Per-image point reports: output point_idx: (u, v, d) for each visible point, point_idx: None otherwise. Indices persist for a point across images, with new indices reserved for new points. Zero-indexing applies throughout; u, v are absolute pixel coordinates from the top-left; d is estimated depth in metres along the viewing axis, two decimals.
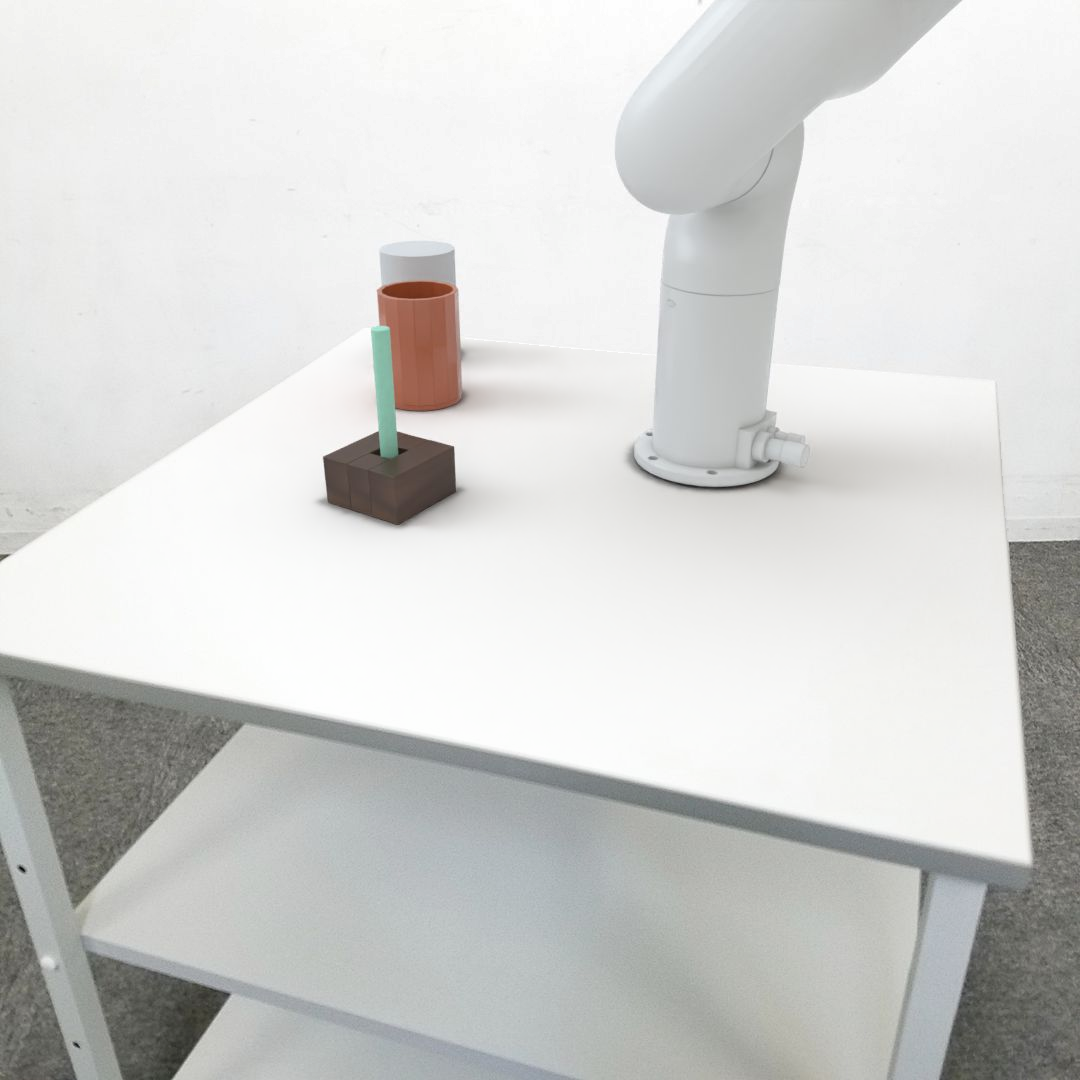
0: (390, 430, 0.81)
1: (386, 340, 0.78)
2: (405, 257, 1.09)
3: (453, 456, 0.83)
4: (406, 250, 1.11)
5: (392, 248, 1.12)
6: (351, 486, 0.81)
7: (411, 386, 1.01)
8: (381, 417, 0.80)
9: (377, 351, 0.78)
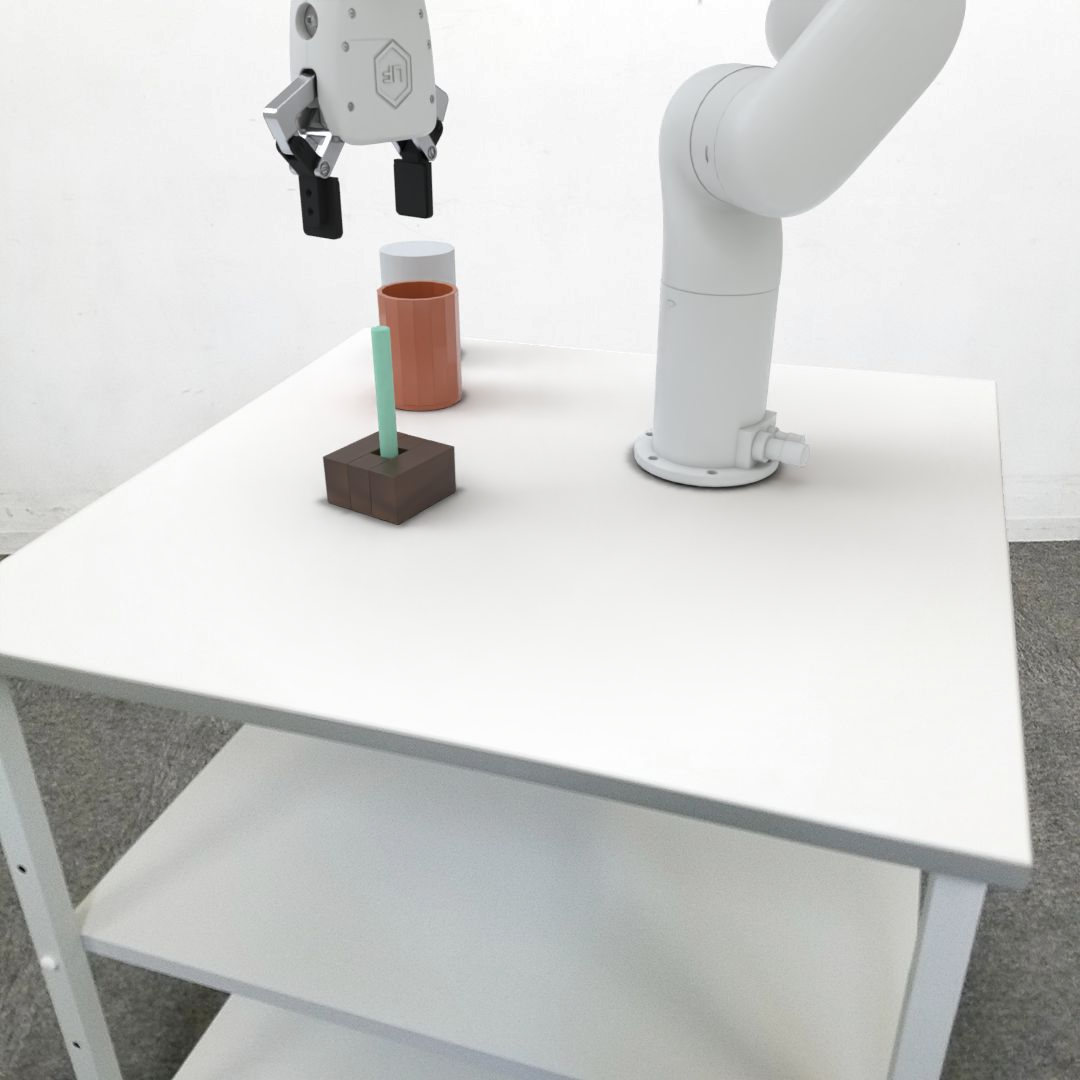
0: (390, 430, 0.81)
1: (386, 340, 0.78)
2: (405, 257, 1.09)
3: (453, 456, 0.83)
4: (406, 250, 1.11)
5: (392, 248, 1.12)
6: (351, 486, 0.81)
7: (411, 386, 1.01)
8: (381, 417, 0.80)
9: (377, 351, 0.78)
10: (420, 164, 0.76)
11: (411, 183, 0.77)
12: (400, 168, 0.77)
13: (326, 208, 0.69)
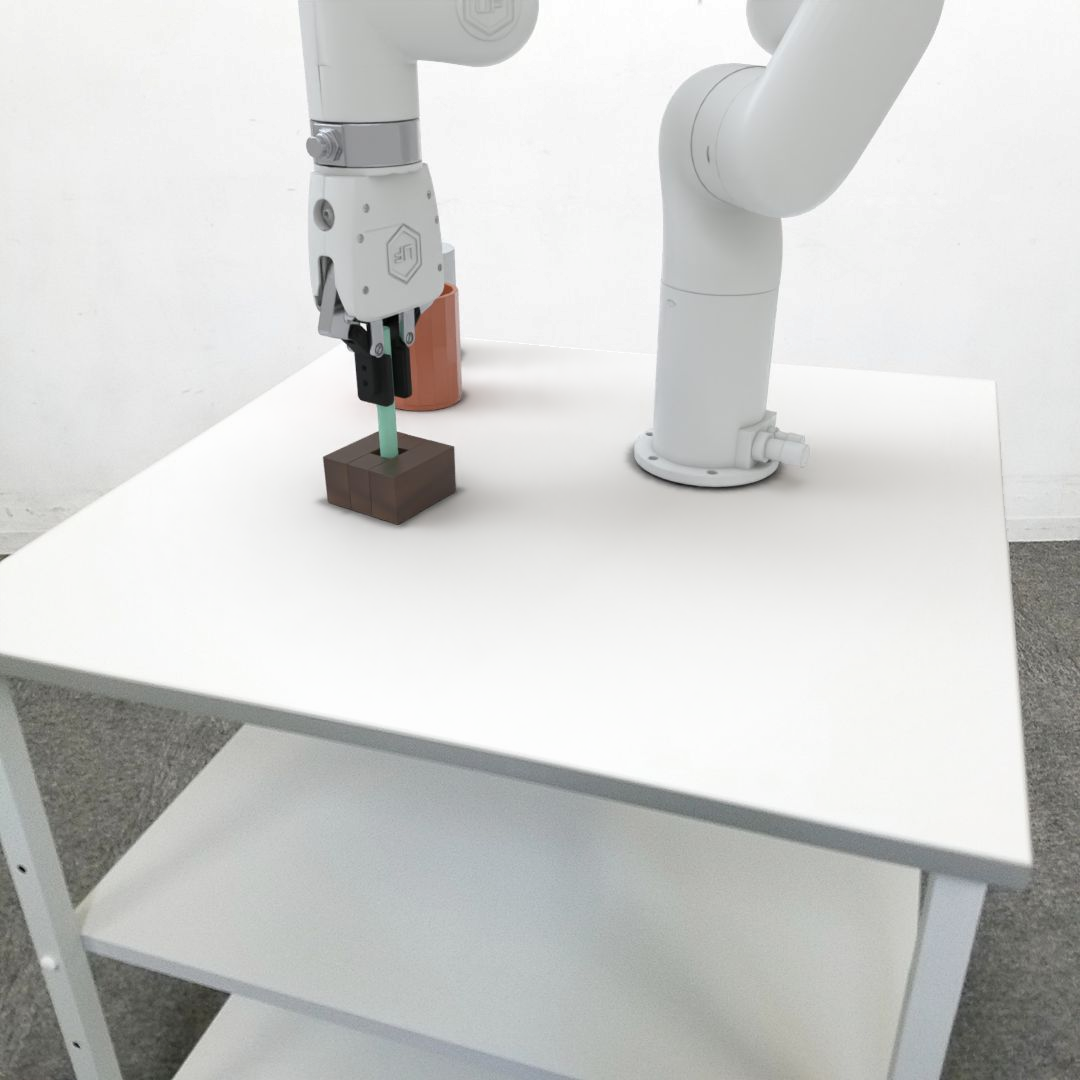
0: (390, 430, 0.81)
1: (386, 340, 0.78)
2: None
3: (453, 456, 0.83)
4: None
5: None
6: (351, 486, 0.81)
7: None
8: (381, 417, 0.80)
9: None
10: (398, 350, 0.79)
11: None
12: None
13: (379, 380, 0.78)
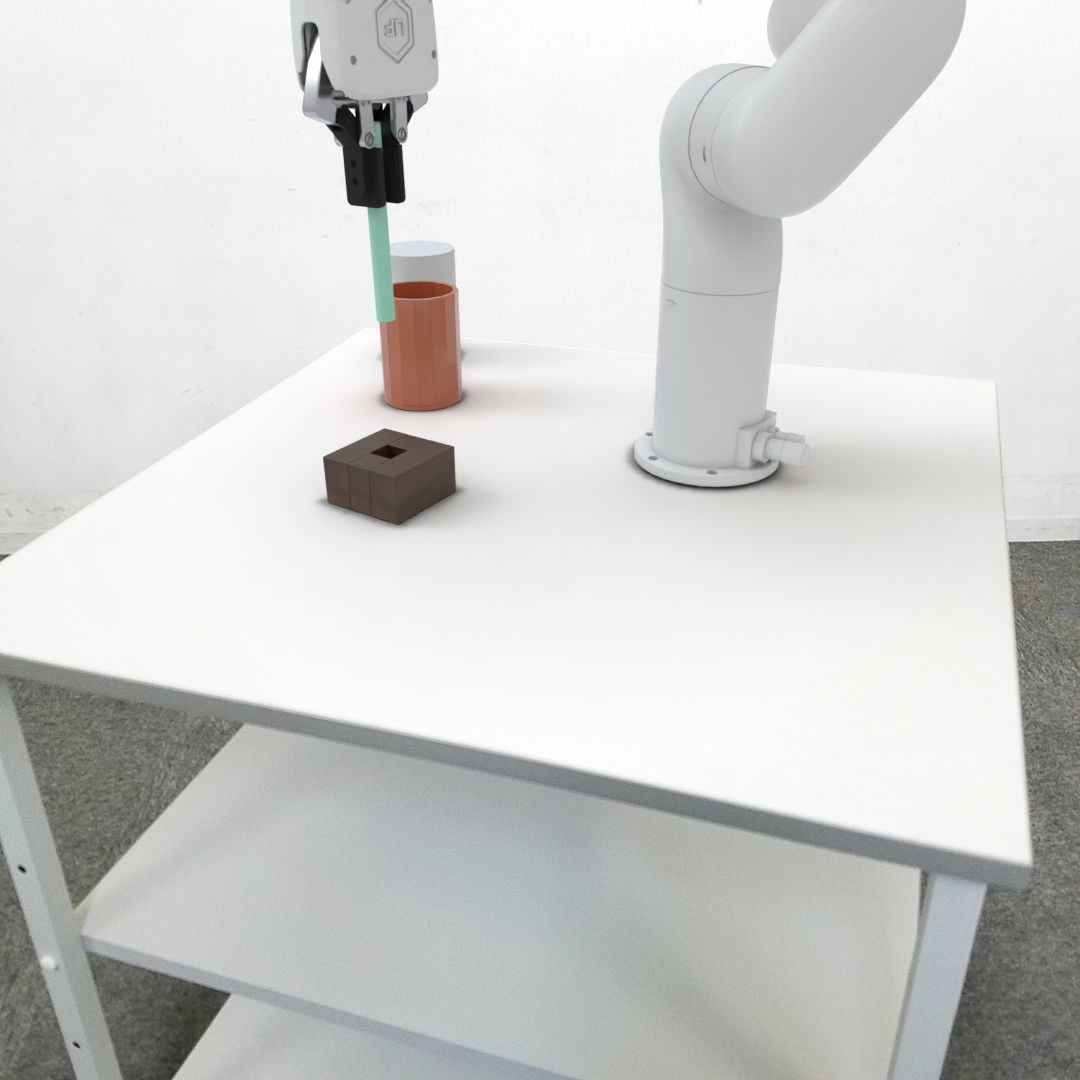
0: (382, 241, 0.75)
1: (377, 135, 0.72)
2: (405, 257, 1.09)
3: (453, 456, 0.83)
4: (406, 250, 1.11)
5: (392, 248, 1.12)
6: (351, 486, 0.81)
7: (411, 386, 1.01)
8: (372, 225, 0.75)
9: None
10: (390, 147, 0.73)
11: None
12: None
13: (370, 178, 0.72)
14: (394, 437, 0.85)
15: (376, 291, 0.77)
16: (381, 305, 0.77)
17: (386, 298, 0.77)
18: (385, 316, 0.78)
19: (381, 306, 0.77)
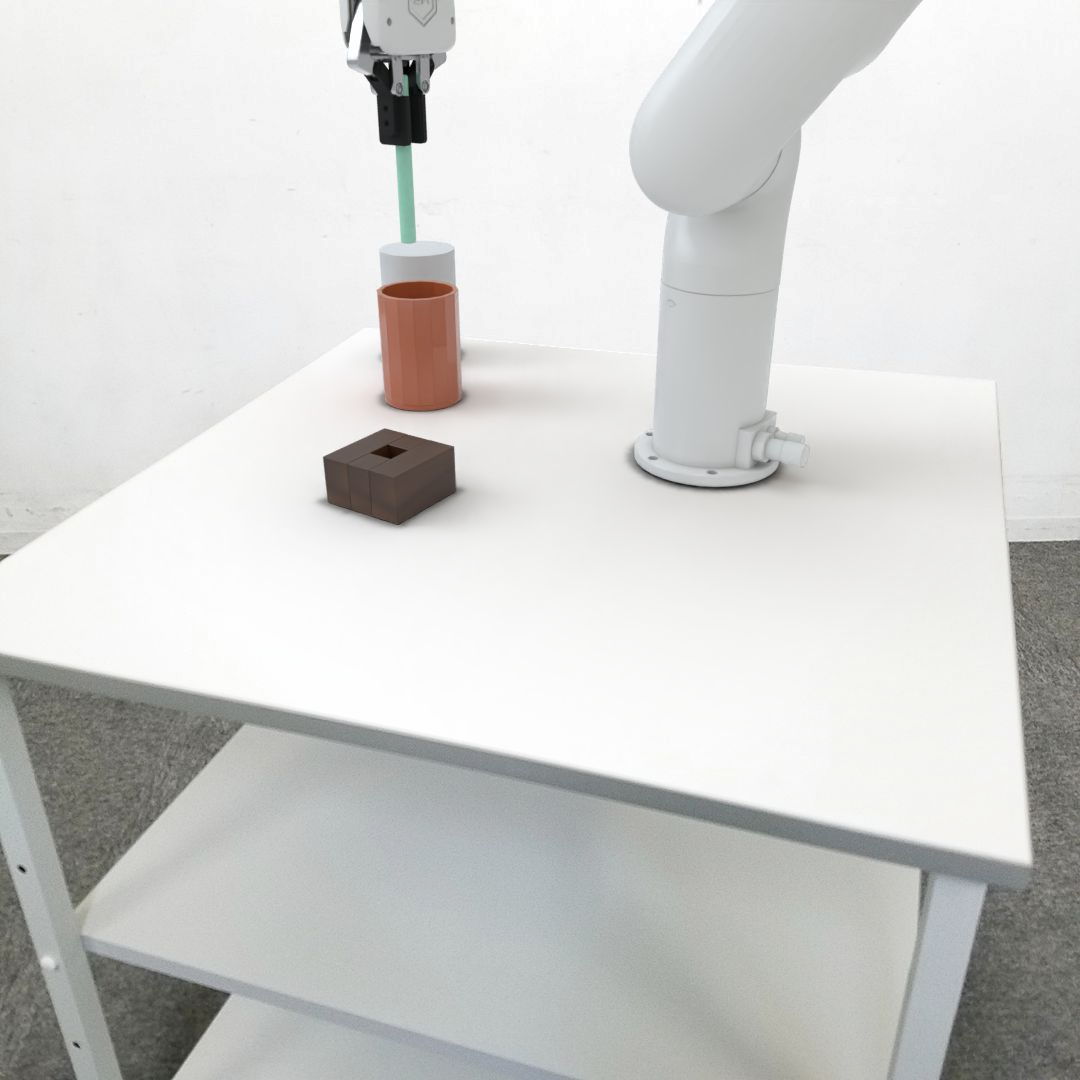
0: (407, 174, 0.91)
1: (405, 85, 0.88)
2: (405, 257, 1.09)
3: (453, 456, 0.83)
4: (406, 250, 1.11)
5: (392, 248, 1.12)
6: (351, 486, 0.81)
7: (411, 386, 1.01)
8: (399, 161, 0.91)
9: None
10: (415, 96, 0.89)
11: None
12: None
13: (399, 121, 0.88)
14: (394, 437, 0.85)
15: (401, 217, 0.93)
16: (405, 229, 0.94)
17: (409, 223, 0.93)
18: (408, 238, 0.94)
19: (405, 230, 0.94)
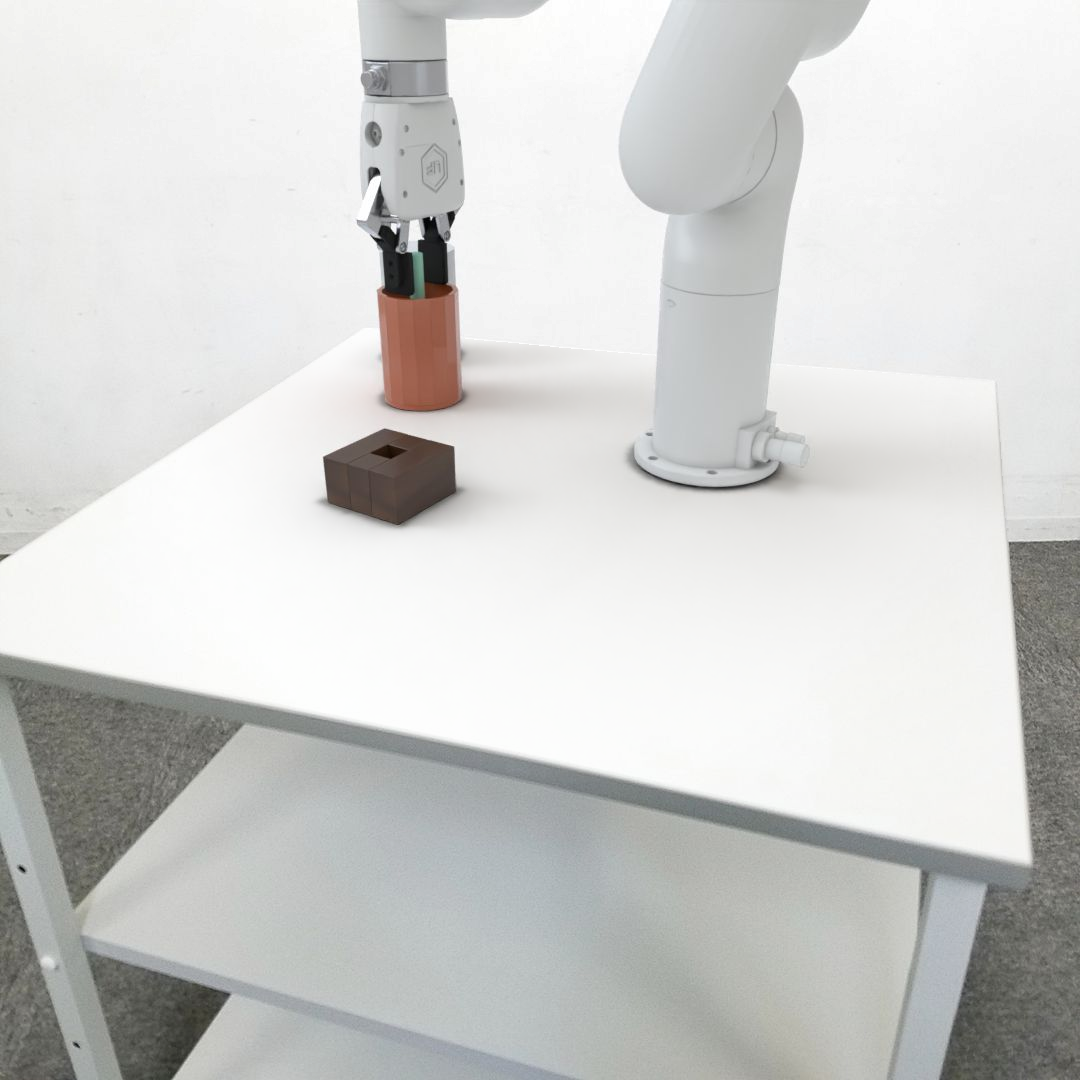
0: None
1: (420, 262, 0.99)
2: None
3: (453, 456, 0.83)
4: None
5: None
6: (351, 486, 0.81)
7: (411, 386, 1.01)
8: None
9: None
10: (438, 244, 1.00)
11: (431, 258, 1.01)
12: (423, 247, 1.01)
13: (403, 274, 0.97)
14: (394, 437, 0.85)
15: None
16: None
17: None
18: None
19: None
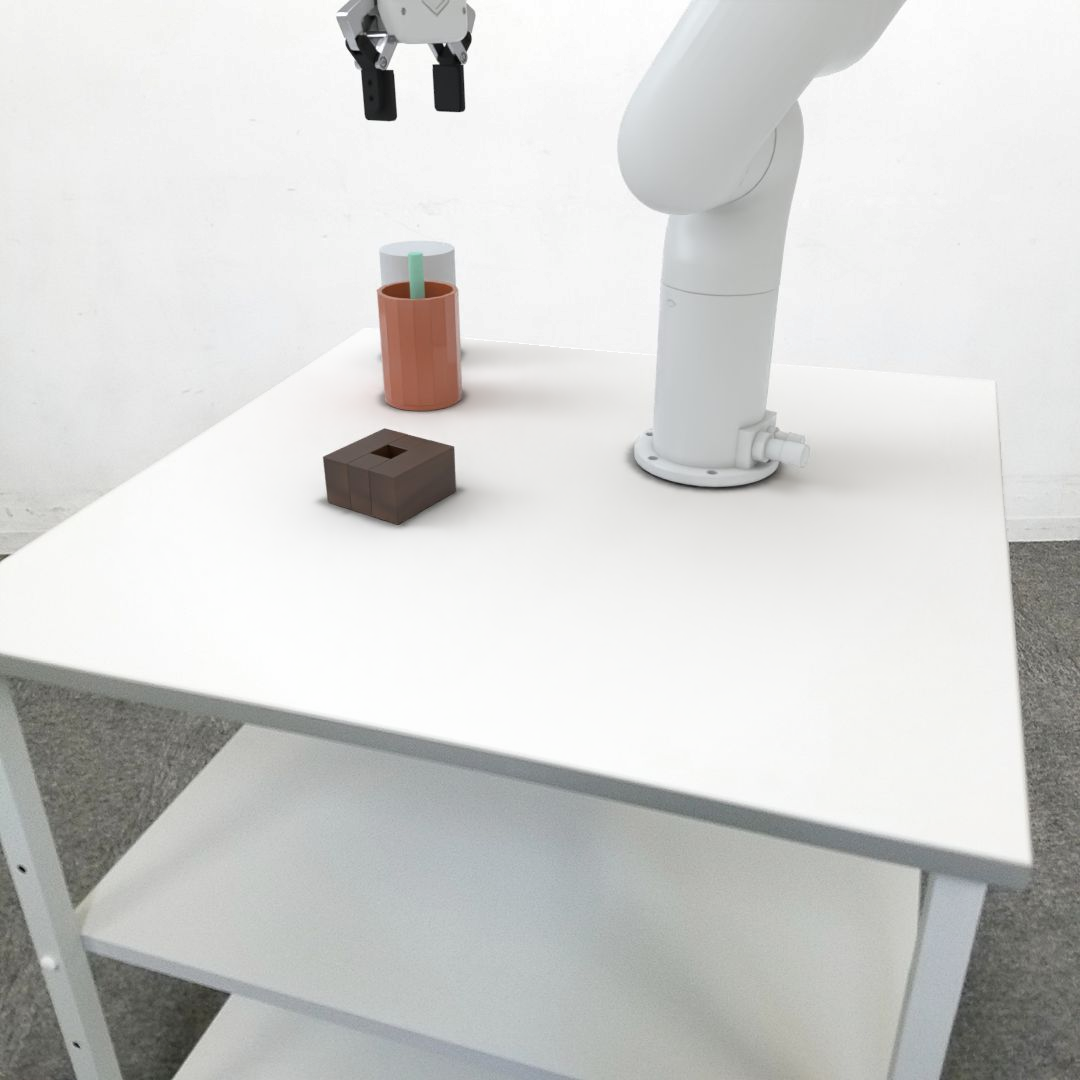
0: None
1: (420, 262, 0.99)
2: (405, 257, 1.09)
3: (453, 456, 0.83)
4: (406, 250, 1.11)
5: (392, 248, 1.12)
6: (351, 486, 0.81)
7: (411, 386, 1.01)
8: None
9: (412, 271, 0.99)
10: (454, 66, 0.94)
11: (447, 83, 0.95)
12: (438, 71, 0.95)
13: (384, 95, 0.88)
14: (394, 437, 0.85)
15: None
16: None
17: None
18: None
19: None
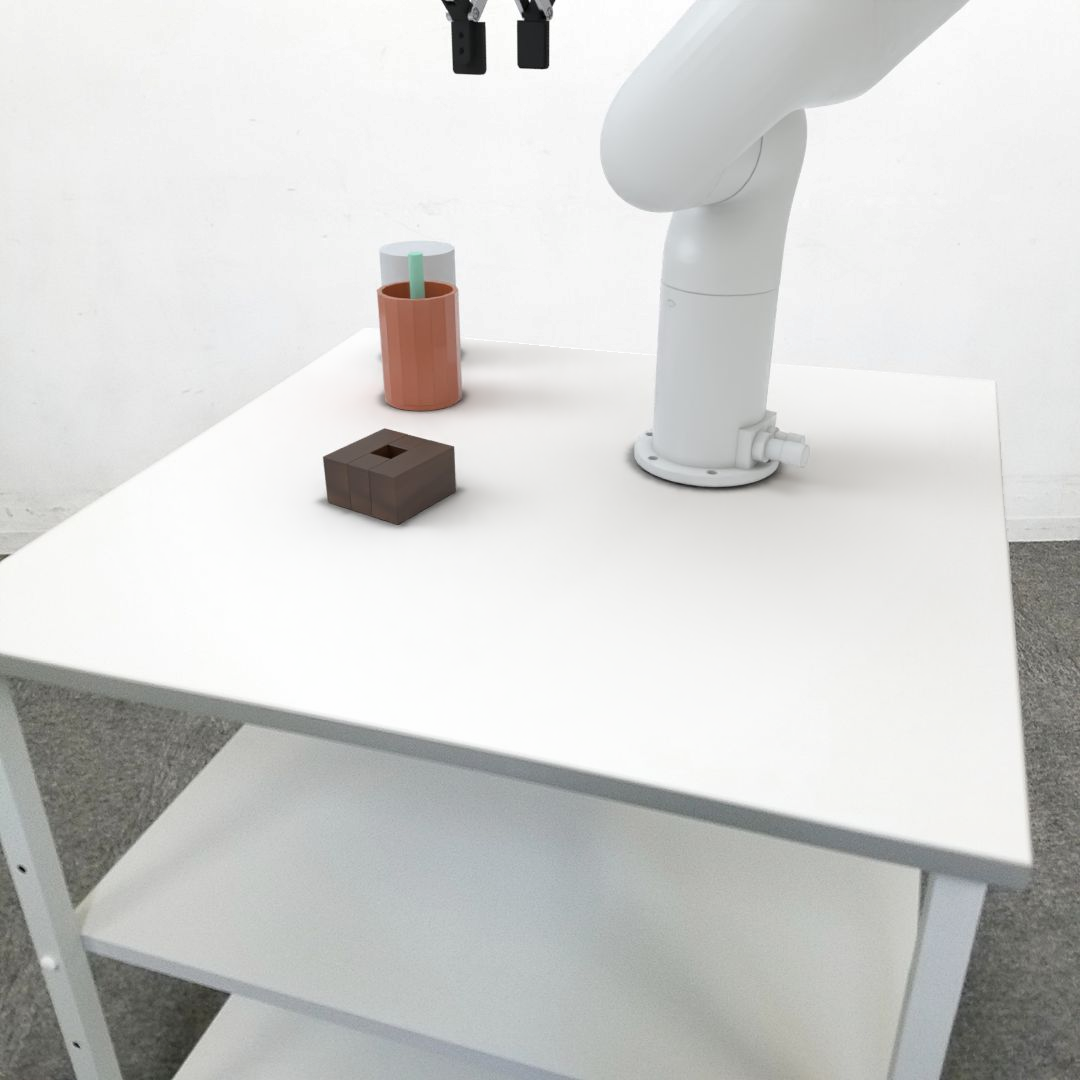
0: None
1: (420, 262, 0.99)
2: (405, 257, 1.09)
3: (453, 456, 0.83)
4: (406, 250, 1.11)
5: (392, 248, 1.12)
6: (351, 486, 0.81)
7: (411, 386, 1.01)
8: None
9: (412, 271, 0.99)
10: (540, 22, 0.93)
11: (532, 39, 0.94)
12: (523, 27, 0.94)
13: (474, 48, 0.86)
14: (394, 437, 0.85)
15: None
16: None
17: None
18: None
19: None
